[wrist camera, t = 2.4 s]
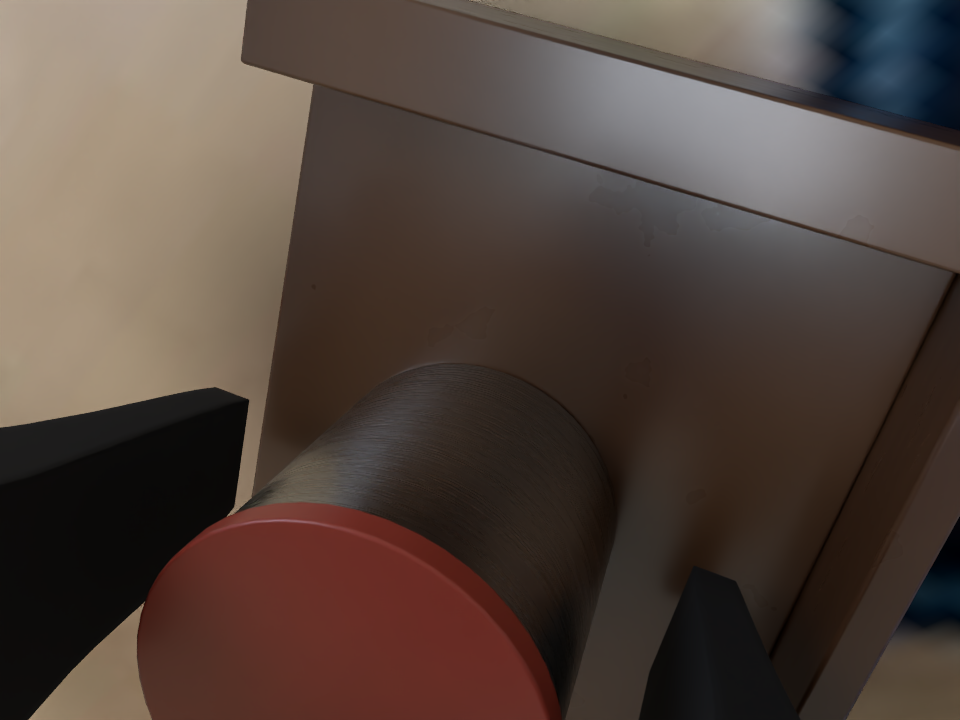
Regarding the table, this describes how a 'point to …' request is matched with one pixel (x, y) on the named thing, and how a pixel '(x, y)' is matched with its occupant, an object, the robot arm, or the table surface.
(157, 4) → the table surface
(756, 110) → the desk shelf
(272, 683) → the cylinder
